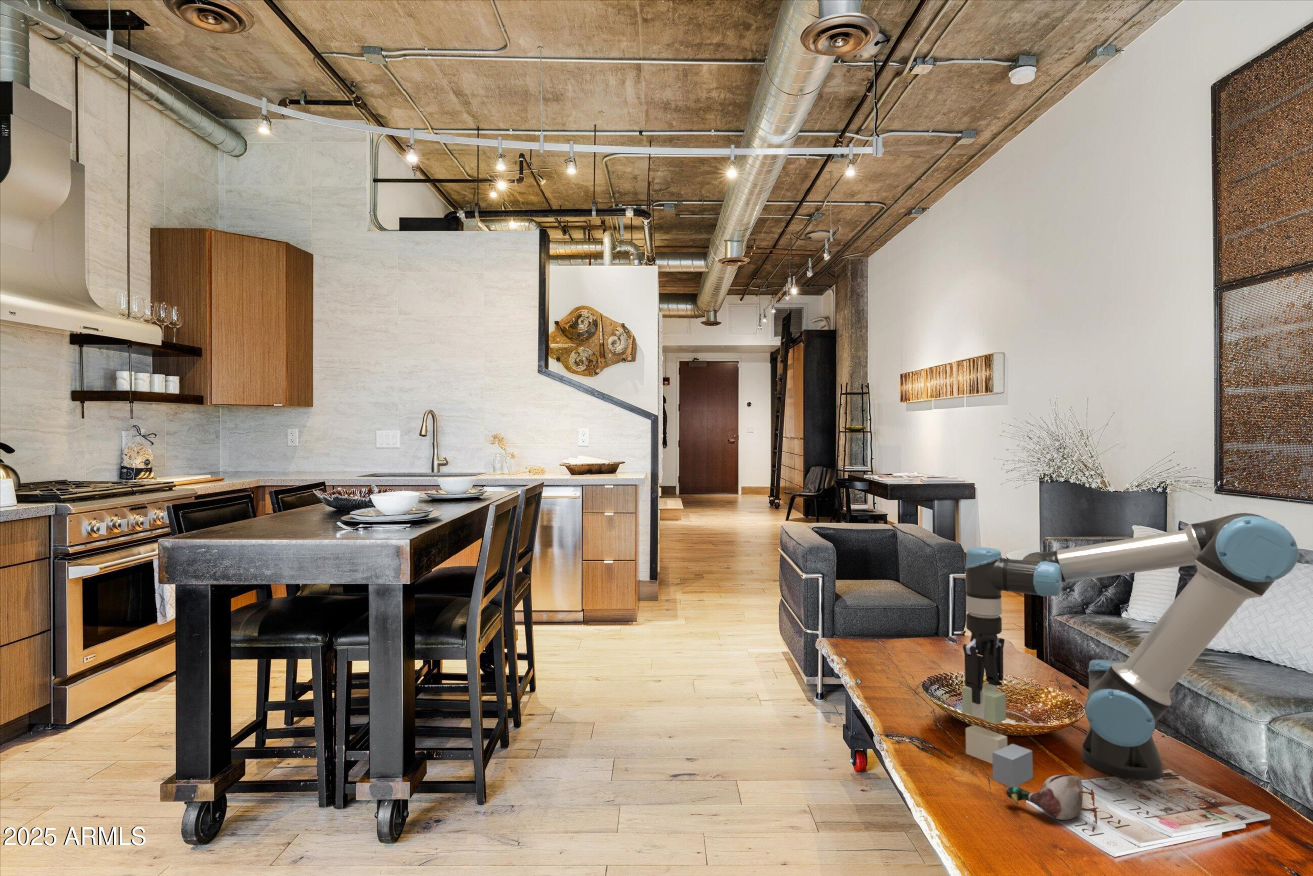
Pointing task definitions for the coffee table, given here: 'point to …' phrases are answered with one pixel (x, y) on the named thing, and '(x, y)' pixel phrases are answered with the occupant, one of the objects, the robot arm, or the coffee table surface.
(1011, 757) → the slate block
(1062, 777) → the decorative duck model
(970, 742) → the cream block
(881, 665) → the coffee table surface
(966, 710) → the sage block
